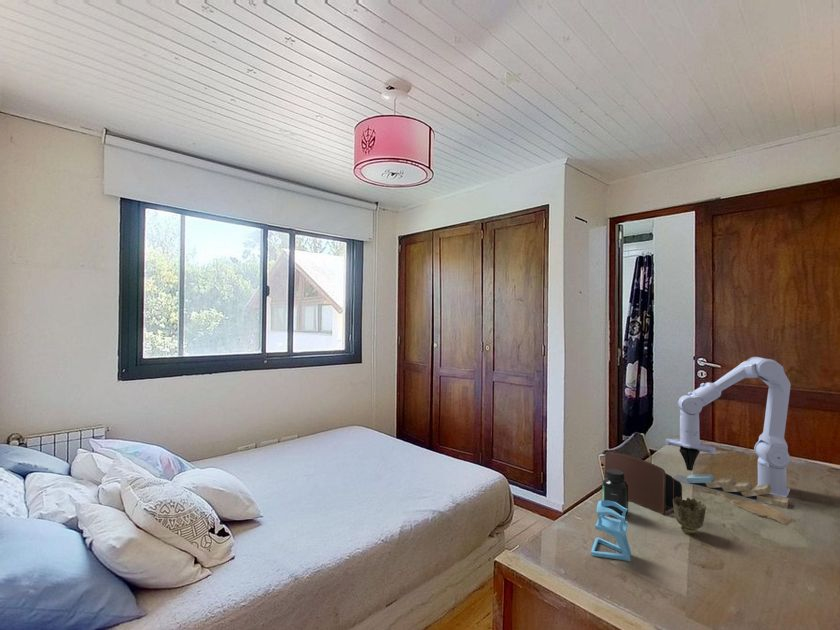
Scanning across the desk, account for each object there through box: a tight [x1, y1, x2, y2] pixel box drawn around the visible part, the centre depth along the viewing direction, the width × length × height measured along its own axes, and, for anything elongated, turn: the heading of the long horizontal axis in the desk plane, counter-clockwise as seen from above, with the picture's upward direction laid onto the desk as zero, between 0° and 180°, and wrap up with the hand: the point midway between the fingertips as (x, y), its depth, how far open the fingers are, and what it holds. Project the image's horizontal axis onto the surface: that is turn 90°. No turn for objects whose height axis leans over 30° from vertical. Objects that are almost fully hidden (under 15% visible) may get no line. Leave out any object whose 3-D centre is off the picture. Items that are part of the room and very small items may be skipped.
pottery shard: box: [730, 498, 796, 526], centre depth 120 cm, size 8×16×2 cm, turn 11°
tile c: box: [741, 484, 772, 497], centre depth 129 cm, size 2×5×7 cm
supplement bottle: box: [602, 469, 629, 518], centre depth 120 cm, size 7×7×12 cm
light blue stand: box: [590, 499, 632, 562], centre depth 99 cm, size 8×8×12 cm
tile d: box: [756, 494, 790, 509], centre depth 126 cm, size 2×5×7 cm
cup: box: [673, 496, 707, 536], centre depth 109 cm, size 8×7×8 cm
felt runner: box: [672, 474, 768, 505], centre depth 137 cm, size 7×26×1 cm, turn 43°
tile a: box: [706, 477, 736, 488], centre depth 136 cm, size 2×5×7 cm
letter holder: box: [603, 451, 683, 516], centre depth 129 cm, size 10×20×14 cm, turn 30°
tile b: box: [722, 481, 753, 492], centre depth 132 cm, size 2×5×7 cm
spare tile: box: [686, 473, 715, 483], centre depth 140 cm, size 2×5×7 cm
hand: (689, 469), depth 142 cm, fingers closed
